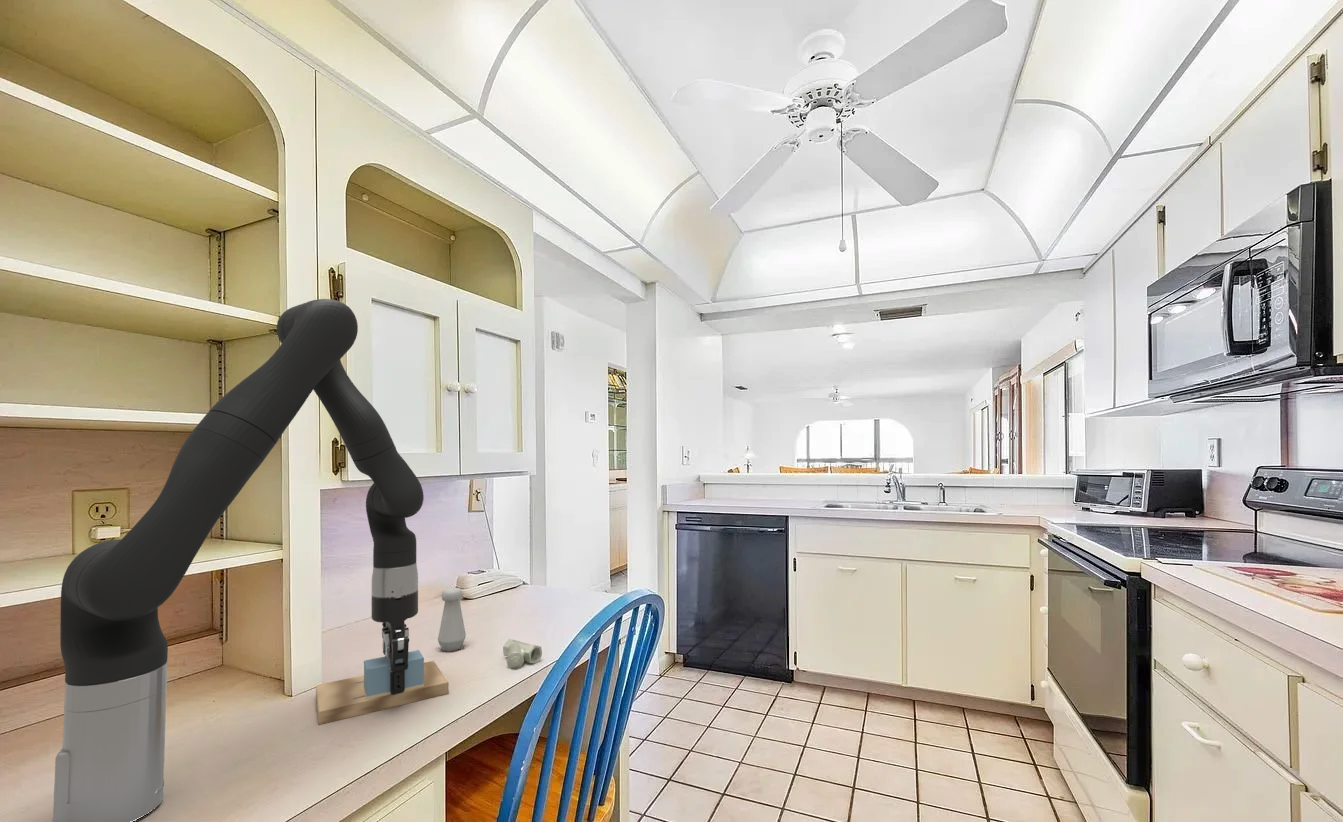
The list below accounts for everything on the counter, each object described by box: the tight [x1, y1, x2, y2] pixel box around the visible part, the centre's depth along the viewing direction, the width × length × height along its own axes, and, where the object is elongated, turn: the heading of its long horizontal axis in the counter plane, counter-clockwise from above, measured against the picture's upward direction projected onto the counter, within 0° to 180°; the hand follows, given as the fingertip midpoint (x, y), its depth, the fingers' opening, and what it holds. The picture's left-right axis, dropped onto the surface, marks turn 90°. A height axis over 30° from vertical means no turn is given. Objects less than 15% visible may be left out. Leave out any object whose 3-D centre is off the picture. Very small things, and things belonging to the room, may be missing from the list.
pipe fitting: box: [502, 638, 543, 669], centre depth 119 cm, size 8×4×7 cm
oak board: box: [315, 660, 449, 725], centre depth 104 cm, size 20×13×2 cm, turn 123°
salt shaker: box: [437, 587, 467, 652], centre depth 129 cm, size 6×6×13 cm
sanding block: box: [363, 649, 425, 700], centre depth 102 cm, size 9×5×5 cm, turn 123°
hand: (395, 686), depth 102 cm, fingers closed on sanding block, 5 cm apart
